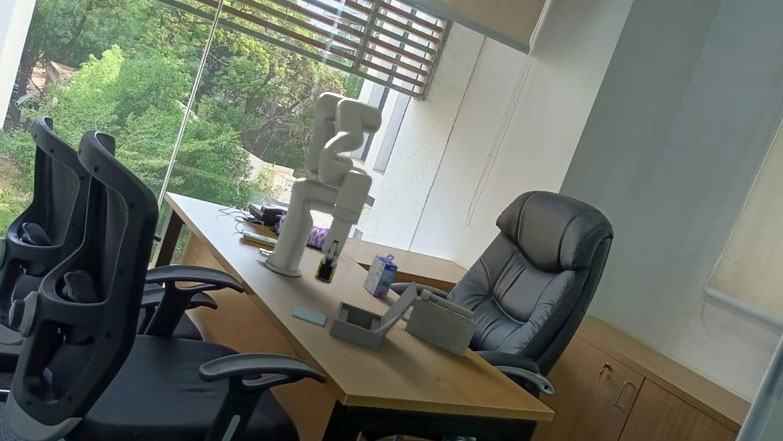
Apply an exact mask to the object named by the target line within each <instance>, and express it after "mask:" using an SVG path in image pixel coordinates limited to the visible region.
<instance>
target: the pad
mask: <svg viewBox="0 0 783 441" xmlns="http://www.w3.org/2000/svg"><path fill="white" fill-rule="evenodd" d="M291 316H292V317H295V318H298V319H300V320H304V321H306V322H309V323H312V324H314V325H317V326H320V327H324V326H325V324H326V323H325V322H326V320H327V315H326V314H324V313H321V312H318V311H314V310H312V309H310V308H308V307H304V306H301V305H299V304H297V305H296V307H295V309H294V311H293V313H292V314H291Z"/></svg>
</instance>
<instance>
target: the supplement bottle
mask: <svg viewBox="0 0 783 441" xmlns="http://www.w3.org/2000/svg"><path fill="white" fill-rule="evenodd" d="M326 253H327V252H324V253H323V256H322V257H321V259H320V262H319V263H318V264H319V265H318V268H317V270H316V273H315V275H314V279H315V281H317V282H319V283H321V284H325V285H330V284H332V281H333V279H334V278H333V277H334V275H335V273H336V270H337V267H338V260H339V257H336V259H335V261H334V264H333V270H332V273H331V275H330V278H329V280H328V281H327V280H324V279H321V278H319V277H318V274H319V271H320V268H321V265H322V263H323V262H324V259H325V257H326ZM328 253H330V252H328ZM335 255H336V254H335V253H334V256H335ZM333 259H334V258H333Z"/></svg>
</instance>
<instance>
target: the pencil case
mask: <svg viewBox="0 0 783 441" xmlns="http://www.w3.org/2000/svg"><path fill="white" fill-rule="evenodd" d="M281 215H282V217H281V218H280V220H279V221H277V222H276V223H275V225H274V227H275V229H276V234H278V235H279V234H280V231H281V228H282V225H283V222H284V219H285V216H286V213H285V211H283V212H282V211H281ZM329 230H330V228H322V227H318V226H315V225H313V227H312V230H311V233H310V236H309V239H308V242H307V245H309V246H313V247H315V248H318V249H320V250H322V249H323V247H324V244H325V241H326V238H327V235H328V233H329Z"/></svg>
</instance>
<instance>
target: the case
mask: <svg viewBox="0 0 783 441" xmlns="http://www.w3.org/2000/svg"><path fill="white" fill-rule="evenodd" d="M416 284H417V283H416V281H412V282H411V283H410V285H408V286H407V288H406V289H405V290H404V291H403V292H402V293H401V294H400V296H399V297H398V298H397V299H396V301H394V303H393V304H392V305H391V306H390V307H389V308H388V310H387V311H386V312H385V313H384V315H381V314H377V313H376V312H373V311H370V310H366V309H365V308H362V307H358V306H356V305H352V304H350V303H347V302H345V301H341V300H340V301H339V304H338V305H337V306H338V307H337V309H336V312H335V315H334V318H333V321H332V323H331V327H330V330H329V335H331V336H333V337H336V338H339V339H342V340H345V341H347V342H349V343H353V344H356V345H358V346H360V347H363V348H366V349H369V350H373V351H376V352H378V350H379V347H380V346H381V342H382V340H383V337H386V335H388V333H389V332H390V331H391V330H392V329H393V328H394V327H395V325H396V324H397V323H398V321H400V320H402V319H403V317H405V314H406V313H407V312H408V311H409V309H410V308H411V307H412V305H413V306H414V304H415V302H416V300H417V297H418V293H417V285H416ZM348 321H349V322H348ZM350 322H351V323H350ZM355 324H356V325H355ZM359 325H360V326H359ZM362 326H363V327H362ZM364 327H366V328H364ZM367 328H368V329H367Z"/></svg>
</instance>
